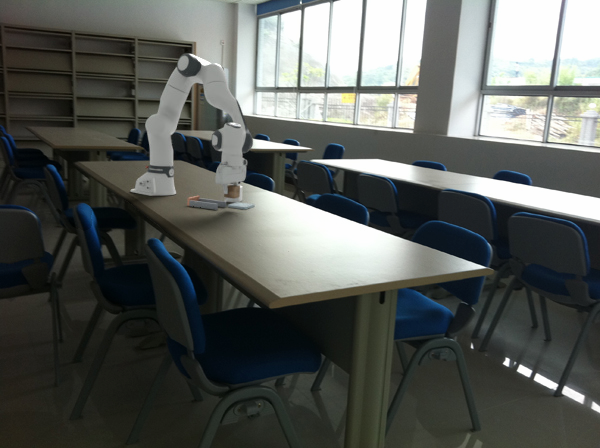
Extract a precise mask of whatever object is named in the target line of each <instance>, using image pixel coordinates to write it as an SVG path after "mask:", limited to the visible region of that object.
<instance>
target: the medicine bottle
mask: <svg viewBox="0 0 600 448" xmlns="http://www.w3.org/2000/svg"><path fill="white" fill-rule="evenodd" d="M241 183H242V181H240V182H238V186H240V196H239V198H235V199H233V198H226V197H224V201H226V202H227V203H236V202H239V203H242V201H243V190H244V188H243V185H241ZM228 185H233V183H230V184H228Z"/></svg>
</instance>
